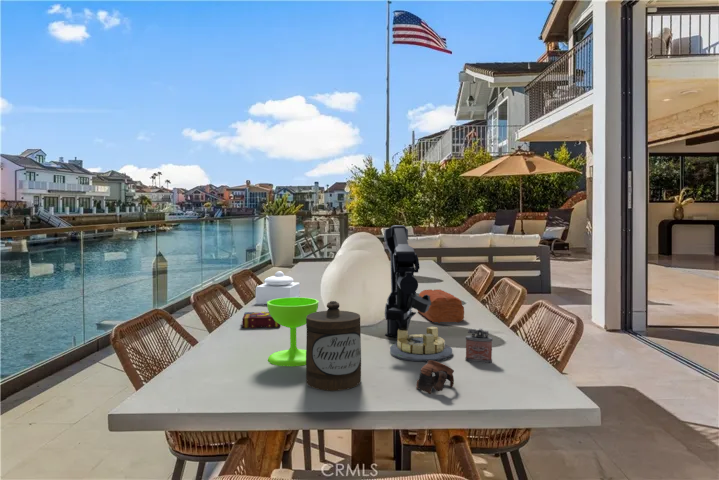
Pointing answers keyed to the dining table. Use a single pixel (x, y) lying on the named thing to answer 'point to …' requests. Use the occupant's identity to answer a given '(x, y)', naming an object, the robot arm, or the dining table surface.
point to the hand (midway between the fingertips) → (405, 334)
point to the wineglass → (291, 326)
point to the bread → (443, 307)
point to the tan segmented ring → (428, 347)
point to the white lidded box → (277, 288)
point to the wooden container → (333, 349)
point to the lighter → (478, 347)
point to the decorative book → (258, 320)
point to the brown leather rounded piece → (438, 380)
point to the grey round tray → (420, 357)
